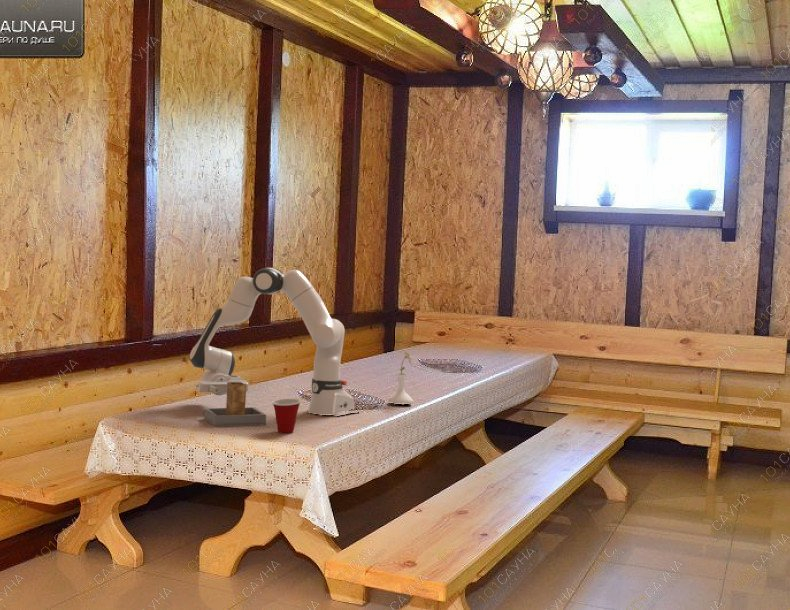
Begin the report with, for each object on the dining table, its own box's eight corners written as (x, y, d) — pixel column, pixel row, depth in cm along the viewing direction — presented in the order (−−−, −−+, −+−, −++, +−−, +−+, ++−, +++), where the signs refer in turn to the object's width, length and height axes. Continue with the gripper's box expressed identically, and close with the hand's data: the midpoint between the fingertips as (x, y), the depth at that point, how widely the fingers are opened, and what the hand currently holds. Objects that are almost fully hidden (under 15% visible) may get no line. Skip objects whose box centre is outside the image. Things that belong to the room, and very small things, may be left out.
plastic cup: (267, 429, 394) (268, 398, 393) (295, 428, 398) (296, 397, 397) (274, 435, 384) (275, 403, 383) (302, 434, 388) (304, 402, 387)
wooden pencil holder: (239, 417, 409) (241, 382, 408) (244, 420, 403) (246, 384, 402) (225, 417, 407) (227, 382, 406) (230, 421, 401) (232, 385, 400)
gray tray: (254, 417, 416) (254, 407, 416) (265, 425, 402) (266, 414, 401) (204, 418, 408) (205, 408, 408) (214, 426, 394) (215, 416, 393)
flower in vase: (410, 407, 456) (413, 351, 454) (384, 405, 458) (387, 349, 456) (415, 403, 469) (418, 348, 467) (390, 400, 471) (393, 346, 469)
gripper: (194, 376, 423) (202, 382, 410) (243, 376, 431) (252, 381, 419) (193, 392, 424) (201, 398, 411) (242, 391, 432) (252, 397, 419)
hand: (227, 389), depth 415 cm, fingers open, 8 cm apart
